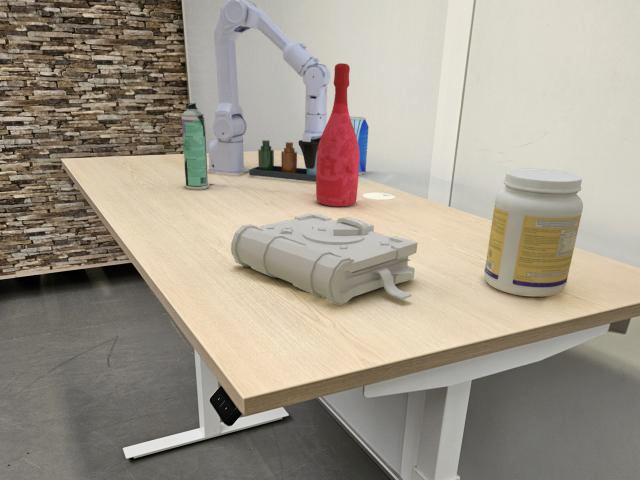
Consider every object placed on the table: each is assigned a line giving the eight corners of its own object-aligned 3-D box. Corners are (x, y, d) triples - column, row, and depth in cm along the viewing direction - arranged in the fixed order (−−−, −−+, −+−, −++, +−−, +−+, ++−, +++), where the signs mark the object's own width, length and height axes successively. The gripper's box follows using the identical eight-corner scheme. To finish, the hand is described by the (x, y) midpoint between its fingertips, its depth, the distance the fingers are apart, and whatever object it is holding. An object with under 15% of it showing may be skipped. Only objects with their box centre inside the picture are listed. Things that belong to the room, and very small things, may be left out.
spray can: (210, 186, 148) (206, 103, 140) (204, 190, 143) (200, 104, 135) (189, 184, 148) (184, 102, 140) (183, 189, 143) (177, 103, 135)
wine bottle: (307, 203, 134) (311, 62, 121) (327, 196, 142) (332, 62, 129) (345, 209, 130) (353, 64, 117) (363, 202, 138) (372, 64, 125)
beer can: (365, 178, 166) (369, 119, 159) (336, 176, 166) (339, 118, 159) (364, 173, 173) (368, 116, 167) (336, 171, 173) (339, 115, 167)
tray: (249, 177, 161) (249, 169, 160) (262, 171, 169) (262, 164, 168) (320, 184, 155) (321, 176, 154) (331, 178, 163) (331, 171, 162)
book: (357, 323, 74) (361, 267, 71) (228, 267, 92) (226, 220, 88) (444, 288, 86) (450, 239, 83) (315, 245, 104) (316, 203, 101)
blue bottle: (304, 178, 159) (304, 144, 155) (309, 176, 162) (310, 142, 159) (319, 180, 157) (320, 146, 154) (324, 177, 161) (325, 144, 157)
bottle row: (255, 173, 163) (255, 140, 159) (262, 171, 166) (262, 138, 163) (293, 177, 159) (293, 143, 156) (299, 174, 163) (299, 142, 159)
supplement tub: (576, 285, 90) (602, 175, 83) (545, 306, 81) (571, 186, 74) (503, 266, 97) (521, 164, 90) (468, 283, 89) (484, 172, 82)
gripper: (321, 117, 145) (319, 171, 151) (338, 113, 158) (336, 163, 164) (295, 115, 147) (294, 169, 153) (314, 111, 160) (312, 161, 166)
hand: (314, 166), depth 159 cm, fingers open, 7 cm apart
